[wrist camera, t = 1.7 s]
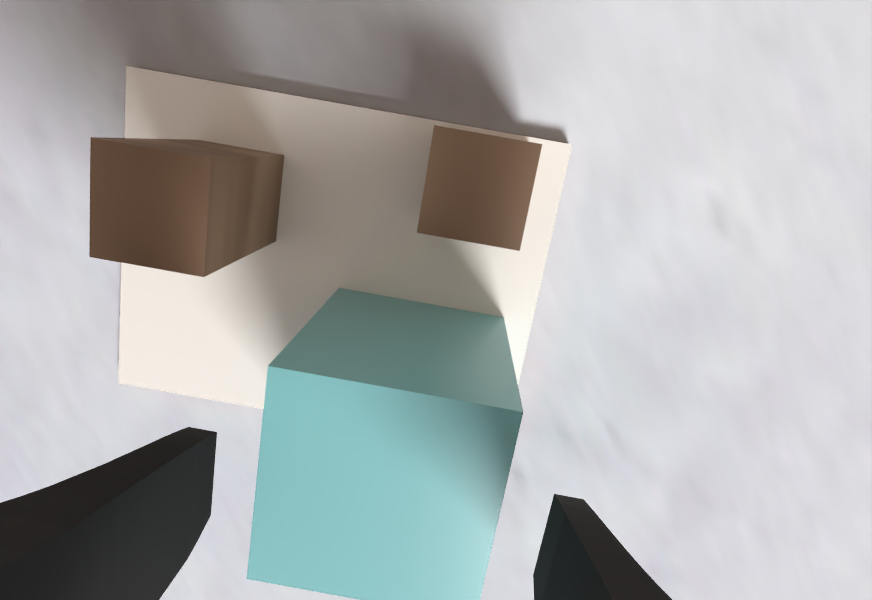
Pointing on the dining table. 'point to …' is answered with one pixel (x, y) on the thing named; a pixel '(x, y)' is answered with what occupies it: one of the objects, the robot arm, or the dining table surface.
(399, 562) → the teal block
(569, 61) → the dining table surface
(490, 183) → the tan block
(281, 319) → the board
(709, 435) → the dining table surface
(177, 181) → the post
